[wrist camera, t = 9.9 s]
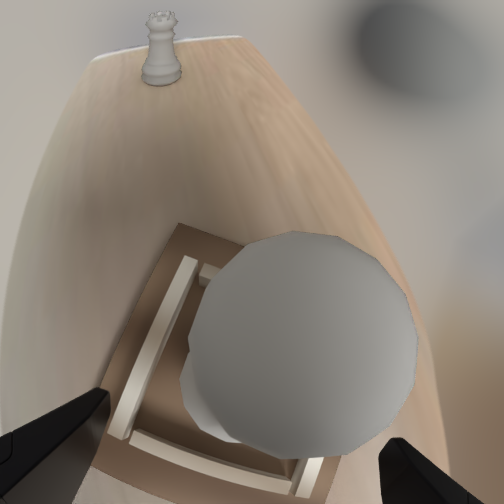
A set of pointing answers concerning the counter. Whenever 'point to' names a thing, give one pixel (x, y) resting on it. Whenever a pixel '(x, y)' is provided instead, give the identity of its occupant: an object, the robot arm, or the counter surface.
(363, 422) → the salt shaker
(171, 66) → the rook chess piece
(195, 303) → the collar board
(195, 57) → the counter surface
